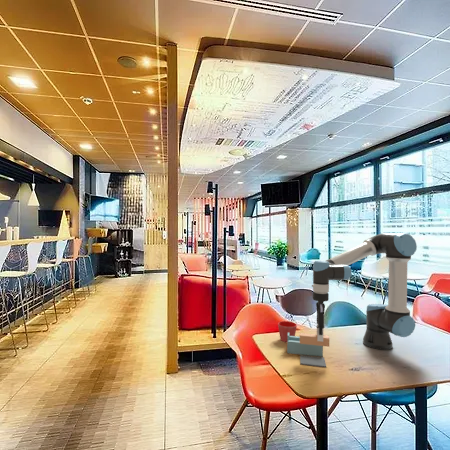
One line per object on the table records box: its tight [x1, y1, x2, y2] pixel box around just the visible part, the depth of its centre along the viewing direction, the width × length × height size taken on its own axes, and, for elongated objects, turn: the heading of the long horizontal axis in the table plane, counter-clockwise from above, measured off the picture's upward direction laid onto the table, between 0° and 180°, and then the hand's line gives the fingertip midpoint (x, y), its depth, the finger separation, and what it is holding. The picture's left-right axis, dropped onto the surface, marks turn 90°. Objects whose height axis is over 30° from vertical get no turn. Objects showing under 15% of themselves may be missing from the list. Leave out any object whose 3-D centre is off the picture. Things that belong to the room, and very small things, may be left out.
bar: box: [299, 332, 330, 348], centre depth 147 cm, size 14×4×4 cm, turn 77°
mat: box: [299, 354, 327, 368], centre depth 147 cm, size 12×10×1 cm
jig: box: [286, 333, 324, 357], centre depth 159 cm, size 18×9×9 cm, turn 77°
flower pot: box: [277, 320, 298, 343], centre depth 176 cm, size 11×11×10 cm
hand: (319, 339), depth 147 cm, fingers closed on bar, 4 cm apart
